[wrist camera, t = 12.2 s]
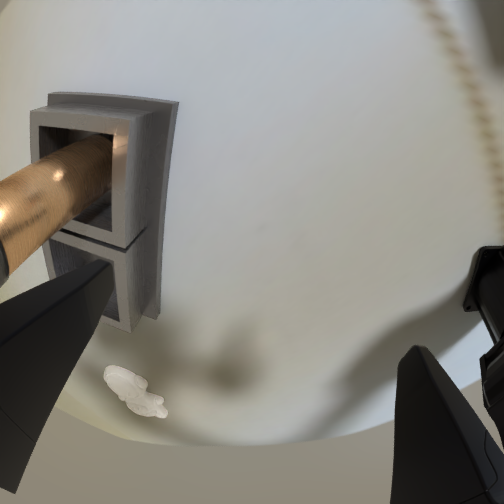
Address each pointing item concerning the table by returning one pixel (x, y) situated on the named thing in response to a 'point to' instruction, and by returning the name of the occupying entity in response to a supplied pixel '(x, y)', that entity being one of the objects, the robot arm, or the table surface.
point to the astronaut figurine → (134, 392)
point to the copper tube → (50, 197)
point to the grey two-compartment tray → (114, 194)
